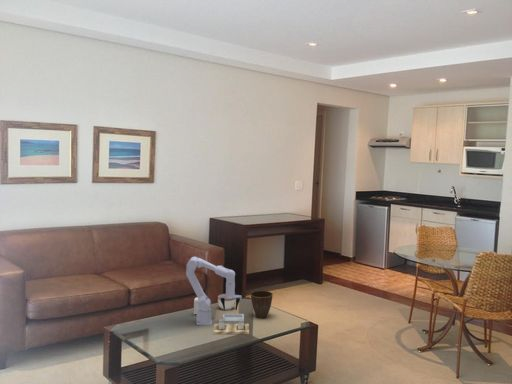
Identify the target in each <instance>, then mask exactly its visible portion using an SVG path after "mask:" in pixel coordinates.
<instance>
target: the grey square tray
mask: <svg viewBox="0 0 512 384" xmlns="http://www.w3.org/2000/svg"><path fill="white" fill-rule="evenodd" d="M222 319H225V324H238V319H244V320H245V314H244V313H223V314H222Z"/></svg>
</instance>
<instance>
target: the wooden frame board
mask: <svg viewBox="0 0 512 384" xmlns="http://www.w3.org/2000/svg"><path fill="white" fill-rule="evenodd" d="M237 328H238V324H225V330H219V323H214V325H213V331H212V334H213V335H250V324H249V323H244V330H238V329H237Z"/></svg>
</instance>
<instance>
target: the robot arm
mask: <svg viewBox="0 0 512 384" xmlns="http://www.w3.org/2000/svg"><path fill="white" fill-rule="evenodd" d="M185 266H186V267H185V268H186V269H185V270H186V271H185V275H186V277H187V279H188V281H189V283H190V285H191V287H192V289H193V291H194V293H195V295H196V297H198V300H199V304H200V310H197V315H196V320H195V321H196V326H203V325H204V326H206V325H207V326H209V325H210V326H211V325H212V324H213V323H212V322H213V320H212V308H211V305H212V300H211V299H210V298H209V297H208V296H207V295H206V293H205V292H204V289H203V287H202V285H201V284H200V281H199V279H198V278H197V276H196V274H195V271H196V270H197V268H198V269H199V268H203V267H204V268H206V269H208V270H211V271H214V273H215V274H216V275H217V276H220V277H222V278H225V279H226V282H225V294H226V295H221V294H219V295H218V296H219V299H221V302H222V305H223V308H224V310H223V311H226V310H225V299H235V311H237V309H238V305H239V303H240V301H241V300H242V295H239V294H236V292H235V289H236V281H235V280H236V279H235V278H236V277H235V276H236V272H235V271H234V270H233V269H229V268H227V267H224V266H223V265H215V264H213V263H210V262H209V261H207V260H204V259H203V258H201V257H198V256H196V255H195V256H192V257H190V259H188V261H187V263H186V265H185Z"/></svg>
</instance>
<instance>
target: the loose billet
mask: <svg viewBox="0 0 512 384" xmlns="http://www.w3.org/2000/svg"><path fill="white" fill-rule="evenodd" d="M244 324H245V318H244V319H238V327H237V330H245V327H244Z"/></svg>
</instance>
